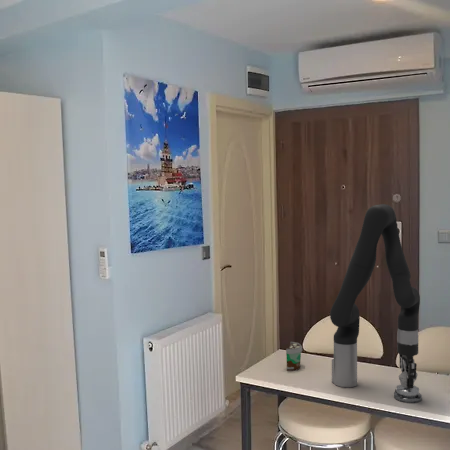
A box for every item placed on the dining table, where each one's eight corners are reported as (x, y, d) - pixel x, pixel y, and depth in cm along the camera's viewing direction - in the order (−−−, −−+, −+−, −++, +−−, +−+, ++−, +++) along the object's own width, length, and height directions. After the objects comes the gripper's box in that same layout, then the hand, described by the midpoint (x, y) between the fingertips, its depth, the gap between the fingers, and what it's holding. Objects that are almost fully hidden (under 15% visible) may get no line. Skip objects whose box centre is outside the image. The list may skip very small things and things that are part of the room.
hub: (388, 397, 203) (388, 388, 203) (402, 390, 210) (402, 381, 210) (413, 405, 195) (413, 395, 195) (427, 397, 202) (427, 388, 202)
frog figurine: (420, 390, 200) (420, 371, 199) (401, 391, 199) (402, 372, 199) (413, 384, 206) (413, 366, 205) (395, 385, 205) (395, 367, 205)
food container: (300, 373, 232) (300, 350, 232) (286, 371, 234) (286, 349, 233) (304, 364, 244) (304, 342, 243) (291, 363, 246) (290, 341, 245)
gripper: (392, 335, 209) (392, 378, 210) (402, 346, 194) (402, 392, 195) (412, 335, 208) (411, 378, 209) (424, 346, 194) (423, 392, 195)
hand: (407, 384), depth 202 cm, fingers closed on frog figurine, 6 cm apart
